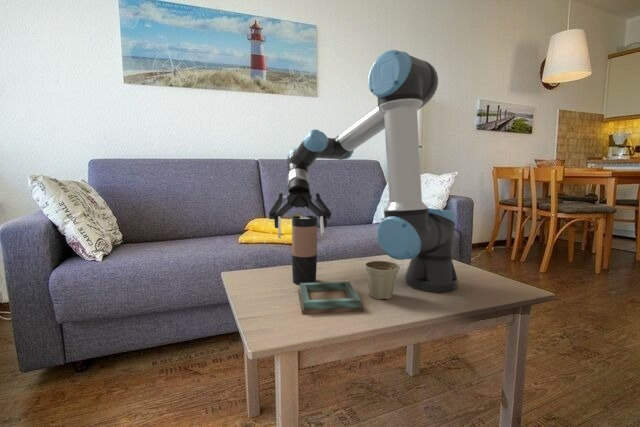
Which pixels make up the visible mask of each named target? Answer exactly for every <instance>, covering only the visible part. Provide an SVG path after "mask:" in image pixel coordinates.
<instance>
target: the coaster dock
mask: <svg viewBox="0 0 640 427" xmlns="http://www.w3.org/2000/svg"><path fill="white" fill-rule="evenodd" d="M297 293H298V300H299V305H300V306H299V307H300V311H301V314H302V315H304V314H305V315H306V314H328V313H329V314H330V313H350V312H364V307H363V305H362V300H361V298H360V296H359V295H358V293H357V292H356V290H355V289H354V287H353V285H352V284H351V282H350V281H327V282H325V281H323V282H317V281H316V282H315V283H300V285H299V288H297Z"/></svg>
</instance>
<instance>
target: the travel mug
mask: <svg viewBox="0 0 640 427" xmlns="http://www.w3.org/2000/svg"><path fill="white" fill-rule="evenodd" d="M317 262H318V216H317V215H316V216H315V215H307V216H304V217H303V216H300V215H294V216H292V217H291V267H292V270H291V271H292V283H294V284H295V285H297V286H298V285H299V286H300V283H317V266H318V265H317V264H318V263H317Z"/></svg>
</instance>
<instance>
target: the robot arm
mask: <svg viewBox="0 0 640 427" xmlns="http://www.w3.org/2000/svg"><path fill="white" fill-rule="evenodd" d="M370 67H371V68H370V70H369V72H368V75H367V76H368V77H367V86H368V88H369V91H370V92H371V93H372V94H373V95H374V96H375V97H376V98H377V105H376V106H374V107H373V108H372V109H371V110H369V111H368V112H367V113H366V114H365V115H363V116H362V117H361V118H359V119H358V120H356V121H355V122H354V123H352V124H351V125H350V126H349V127H347V128H346V129H345V130H343V131H342V132H341V133H340V134H338V135H337V136H335V137H333V138H332V137H328V136H327V134H325V133H324V132H323V131H320V130H319V129H312V130H310V131H309V133H308V134H307V135H306V136H305V137H304V138H303V140H302V141H301V143H300V144H299V146H298V147H297V148H296V147H295V148H293V149H291V150H290V151H289V152H288V153H287V156H286V157H287V158H286V165H287V166H286V168H287V169H286V170H287V195H285V194H283V193H281V192H280V193H279V195H278V199H277V200H276V201H275V203H274V204H273V206H272V207H271V209H270V211H269V212H268V218H269V220H274V228H275V229H277V230H278V231H277V236H278V238H277V239H281V234H282V233H281V232H282V230H281V229H282V228H281V227H282V225H281V218H282V217H283V216H285V214H286V213H287V212H289V210H292V208H296V209H297V208H304V209H305V208H306V209H308V210H310V211H311V212H312V213H313V214H315V215H316V217H317V218H319V225H320V226H319V227H320V228H319V229H320V236H321V238H322V239H323V238H324V237H325V229H326V228H327V225H328V223H327V219H328V220H331V217H332V212H331V211H330V209H329V208H328V206H327V205H326V203H325V202H324V201H323V200H322V199H321V196H320V193H318V192H317V193H316V194H315V195H312V194H311V188H310V179H309V177H310V176H309V169H310V167H311V166H312V165H313V163H314V162H315V161H316V160H318V159H323V160H325V159H326V160H328V159H329V160H339V161H342V160H348V159H350V158H351V157H352V155H353V153H354V150H356V148H358V147H359V146H362V145H363V144H364V143H366V142H367V141H369V140H370V139H371V138H373V137H375V136H376V135H377V134H380V133H381V132H382V131H385V132H384V135H385V149H386V150H385V151H386V168H387V169H386V171H387V184H388V188H387V189H388V204H387V205H386V207H385V208H384V209H383V215H384V217H383V218H384V219H383V220H381V221H380V224H379V225H378V227H377V230H376V238H377V242H378V245H379V246H380V249H381V250H382V251H383V252H384V253H385V254H386V256H388V257H389V258H392V259H394V260H397V261H404V260H410V261H409V264H408V266H407V269H406V271H405V275H404V283H405V284H406V285H408V286H409V287H411V288H414V289H416V290H420V291H425V292H430V293H431V292H433V293H447V292H452V291H454V290H457V289H458V280H459V279H458V276H457V273H456V270H455V269H456V268H455V266H454V260H453V259H454V256H453V255H454V242H455V229H456V228H455V226H456V219H455V218H456V214H455V213H454V211H452V210H448V209H441V208H429V206H428V205H426V203H424V202H423V199H422V198H423V197H422V194H423V193H422V180H421V179H422V178H421V160H420V159H421V157H420V141H419V139H420V138H419V137H420V136H419V122H418V121H419V120H418V118H419V117H418V111H419V110H420V109H422V108H423V107H424V106H425V105H427V104H428V103H429V101H431V99H432V98H433V97H434V96H435V94H436V91H437V89H438V86H439V77H438V72H437V70H436V69H435V67H434V66H433V64H431V63H430V62H428V61H427V60H422V59H420V58H417V57H415V56H413V55H410V54H409V52H406V51H402V50H398V49H397V50H396V49H391V50H387V51H385V52H382V53H381V54H380V55H379V56H378V57H377V58H376V59H375V61H374V63H373V64H372V65H371V66H370ZM312 200H313V201H312ZM286 201H287V202H286ZM284 202H286V203H285V204H284V205H283V206H282V204H283V203H284ZM281 206H282V207H281Z"/></svg>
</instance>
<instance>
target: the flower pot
mask: <svg viewBox="0 0 640 427" xmlns="http://www.w3.org/2000/svg"><path fill="white" fill-rule="evenodd" d="M364 266H365V269H366V272H367V283H368V294H369V295H370V297H371V298H373V299H378V300H384V299H386V300H389V299H391V298H392V297H393V294H394V291H395V290H394V289H395V284H396V278H397V275H398V273H399V270H400V269H401V266H400V264H399V263H395V262H393V261H389V260H388V261H385V260H370V261H367V262H365V263H364Z"/></svg>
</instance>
